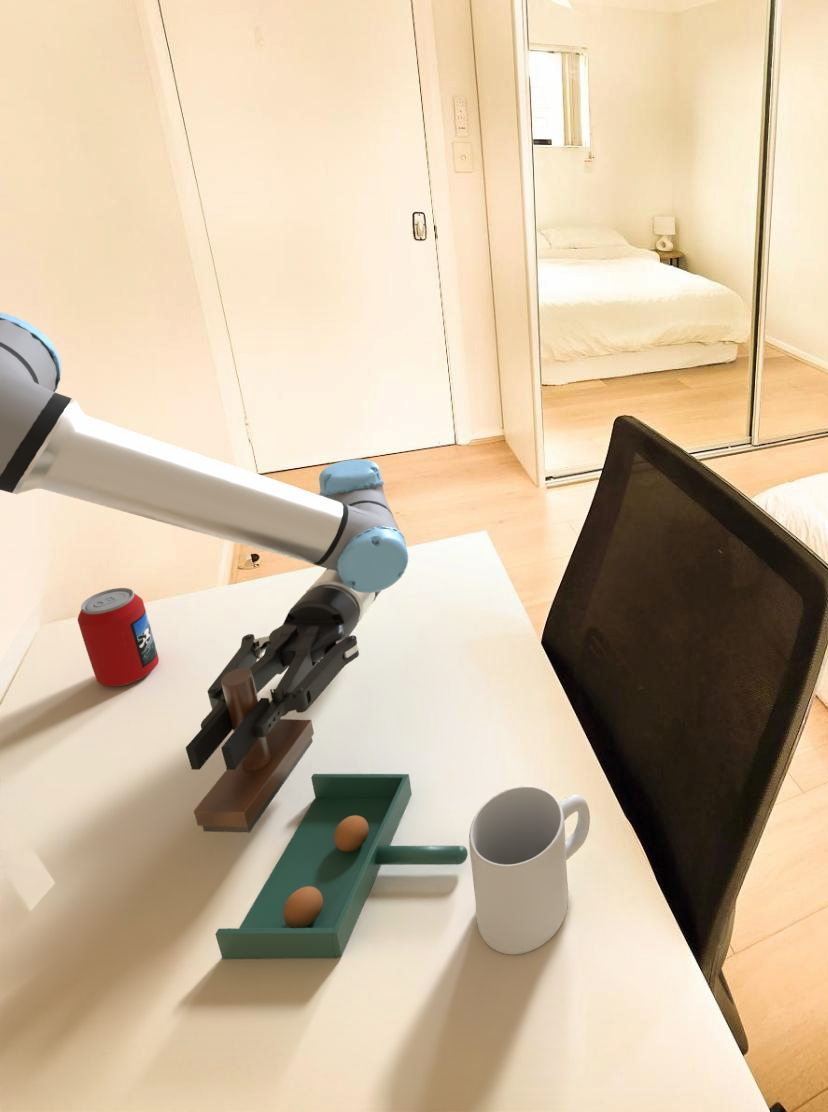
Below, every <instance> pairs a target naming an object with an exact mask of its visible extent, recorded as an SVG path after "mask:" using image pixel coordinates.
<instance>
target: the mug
mask: <svg viewBox="0 0 828 1112" xmlns="http://www.w3.org/2000/svg"><path fill="white" fill-rule="evenodd" d="M574 813H577V823H576V826H575V827H574V831H573V832H572V834H570V836H568V837H567V838H566V827H565V826H566V825H565V821H566V820H567V819H568V818H569V817H570V816H571V815H573V814H574ZM590 813H591V812H590V807H589V805H588V802H587V800H586V799H585V798H584V796H582V795H581V794H578V793H577V794H575V793H574V794H571V795H569V796H567V797H565V798H564V799H562V800H561V801H559V800H558V799H557V797H556V796H555V795H554V794H553V793H551V792H550V791H548V790H546V789H544V788H541V787H539V786H532V785H521V786H515V787H511V788H508V789H505V790H502V791H501V792H499V793H497V794H495V795H493V796H492V797H490V798H489V799H488V800H487V801H486V802H484V804H483V805H482V806H481V807H480V808H479V810H477V812H476V814H475V815H474V817H473V819H472V821H471V825H470V827H469V833H468V845H469V854H470V863H471V873H472V874H471V875H472V882H473V891H474V902H475V916H476V923H477V928H478V931H479V934H480V936H481V938H482V940H483V941H484V942H485V944H487V946H488V947H489V948H491V949H493V950H494V951H496V952H498V953H501V954H505V955H522V954H526V953H529V952H532V951H534V950H537V949H538V948H540V947H542V946H543V945H545V944H546V943H547V942H548V941H550V939H552V938H553V937H554V935H555V934H556V933H557V932H558V931H559V929H560V927H561V926H562V924H563V922H564V920H565V917H566V916H567V915H566V914H567V911H568V905H569V884H568V870H567V869H568V868H567V860H569V859H570V858H571V857H572V856H573V855H574V854H576V853H577V852H578V851H579V850H580V849H581V847H583V845H584V843H585V841H586V840H587V837H588V834H589V831H590V825H591V824H590V823H591V815H590Z"/></svg>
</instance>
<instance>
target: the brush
mask: <svg viewBox="0 0 828 1112" xmlns="http://www.w3.org/2000/svg"><path fill="white" fill-rule="evenodd" d="M221 684H222V688H223V692H224V696H225V700H226V704H227V708H228V712H229V716H230V720H231V724H232V728H233V729H232V733H233V732H234V731H235V730H236V729H237V727H238V726H239V725H240V724H241V722H242V721H243V720H244V719H245V718H246V716H247V715H248V714H249V713H250V711H251V710H252V709H253V708H254V706H255V705H256V704H257V703H258V701H259V697H258V693H257V692H256V688H255V683H254V679H253V675H252V671H251V670H250V669H247V668H241V669H236V670H233V671H231V672H229V673H228V674H226V675H225V676H224V677H223V678H222V680H221ZM314 735H315V731H314V726H313V721H312V719H292V718H291V719H289V718H280V719H279V721H278V722H277V723H276V725H275V726H274V727H273V729H272V730H271V731H270V733H269V734H268V735H266V736H265V737H259V738H258V740H257V741H256V742H255V744H254V745H253V746H252V748H251V749H250V750H249V752H248V753H247V754H246V756H245V757H244V758H243V760H242V761H241V762H240V764H239V765H238V766H237V768H236V769H235V770H227V769H226V770H225V771H224V773H223V774H221V776H220V777H219V779H218V780H217V781H216V783H215V784H213V786H212V787H211V788H210V790H209V791H208V792H207V794H205V796H204V797H203V798H202V800H201V801H200V802H199V803H198V804H197V806H196V807H195V809H194V810H193V813H194V814H193V815H194V817H195V821H196V824H197V826H198V827H201V828H202V831H203V832H204V833H205V832H206V833H207V832H208V833H239V834H240V833H243V834H249V833H251V831H252V830H253V828H254V827H255V826H256V825H257V823H258V821H259V820H260V819H261V817H262V815H263V814H264V813H265V811H266V810H267V808H268V807H269V806H270V804H271V803H272V801H273V800H274V798H275V797H276V795H277V794H278V792H279V791H280V789H281V788H282V787H283V785H284V784H285V782H286V781H287V780H288V778H289V777H290V775H291V774H292V773H293V771H294V770H295V768H296V766H298V764H299V762H300V761H301V759H302V758H303V757H304V755H305V754H306V752H307V751H308V750H309V748H310V746H311V745H312V744H313V736H314Z"/></svg>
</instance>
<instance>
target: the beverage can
mask: <svg viewBox="0 0 828 1112" xmlns="http://www.w3.org/2000/svg"><path fill="white" fill-rule="evenodd" d="M149 620H150V619H149V618H148V614H147V610H146V607H145V603H144V600H143V598H142V597H140V596H139V595H137V594H136V593H135V592H134V591H133V589H131V588H128V587H116V588H110V589H106V590H104V591H100V592H98V593H96V594H93V595H92V596H90V597H88V598H86V599H84V601H83V602H82V604H81V606H80V612H79V613H78V616H77V623H78V627H79V630H80V633H81V636H82V640H83V643H84V646H85V651H86V653H87V656H88V658H89V661H90V665H91V668H92V670H93V671H92V672H93V674H94V678H95V680H96V682H97V683H98V684H99V685H101V686H103V687H104V686H105V687H121V686H127V685H130V684H132V683H135V682H138V681H140V680H142V679H143V678H145V677H146V676H147V675H149V674H150V673H151V672H152V671H153V670H154V669H155V668H156V667H157V666H158V664H159V661H160V659H159V655H158V651H157V646H156V642H155V638H154V635H153V631H152V628H151V624H150V621H149Z"/></svg>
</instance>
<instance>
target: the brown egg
mask: <svg viewBox="0 0 828 1112" xmlns="http://www.w3.org/2000/svg"><path fill="white" fill-rule="evenodd" d="M322 906H323V897H322V894H321V893H320V891H319V890H318V889H317V888H315V887H311V886H307V887H303V888H300V889H298V890H297V891H295V892H294V893H293V894H292V895H291V896H290V897H289V898H288V900H287V902H286V904H285V906H284V911H283V917H284V920H285V922H286V924H287V925H288V926H289V927H291V928H304V927H306V926H308V925H310V924H311V923H312V922H314V921H315V919H316V918H317V917H318V915H319V914H320V912H321V909H322Z"/></svg>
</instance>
